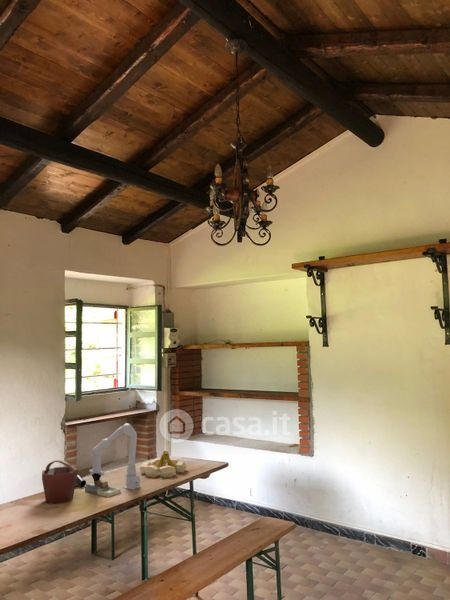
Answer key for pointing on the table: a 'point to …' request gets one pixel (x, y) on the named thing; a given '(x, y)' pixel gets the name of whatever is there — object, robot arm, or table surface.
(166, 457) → the campfire
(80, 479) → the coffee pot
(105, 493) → the tray
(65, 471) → the bucket
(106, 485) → the block
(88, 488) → the rail
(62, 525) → the table surface
